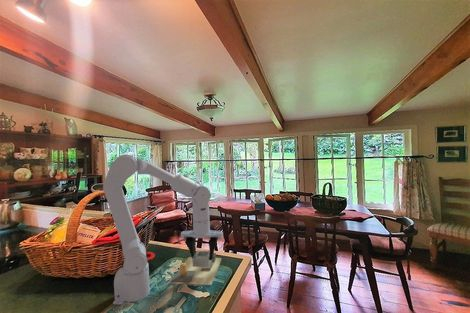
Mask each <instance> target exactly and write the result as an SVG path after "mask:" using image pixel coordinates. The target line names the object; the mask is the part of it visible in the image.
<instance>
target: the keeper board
mask: <svg viewBox="0 0 470 313" xmlns="http://www.w3.org/2000/svg"><path fill="white" fill-rule="evenodd" d="M222 258H223V257H217V252H214V254H213V259H212V262H211V264H210V266H209V267H193V262H192V256H189V257H187V259H186V260H185V262H184V263H185V264H186V265H187V271H196V272H195V274H194V276H193V277H192V279H191V281H190V282H171V281H170V284H173V285H175V284H176V285H177V284H179V285H181V284H182V285H203V286H204V285H205V286H212V285H213V283H214V280H215V277H216V275H217V272H218V269H219V267H220V264H221V262H222Z"/></svg>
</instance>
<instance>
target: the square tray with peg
mask: <svg viewBox="0 0 470 313" xmlns="http://www.w3.org/2000/svg"><path fill="white" fill-rule="evenodd" d="M179 266H180V267H179V269H178V270H177V272H176V273H175V275H174V276H173V277H172V279H171V280H170V283H171V282H190V281H191V279H192V277H193V276H194V274H195V272H196V271H187V265H186V264H185V262H182V263H181V264H179Z"/></svg>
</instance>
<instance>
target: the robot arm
mask: <svg viewBox="0 0 470 313" xmlns="http://www.w3.org/2000/svg"><path fill="white" fill-rule="evenodd" d="M136 172H137V175H150V176H152V177H154V178H156V179H159V180H160V181H163V182H165V183H167V184H169V185H170V188H171V190H172V191H174V192H177V193H178V194H181V195H183V196H185V197H187V198H191V199H192V223H193V224H192V227H193V228H192V230H183V231H181V232H180V239H182V240H183V239H185V241H184V242H185V245H186V247H187V249H188V250H189V252H190V255H191V256H190V257H192V258H193V256H194V255H195V253H196V252H197V249H196V247H197V246H196V245H197V244H196V242H197V239H209V240H208V241H207V243H208V246H209V247H208V249H209V250H208V251H210V260H212V259H213V254H214V253H215V248H216V246H217V242H218V240H223V237H224V231H219V230H212V229H211V221H210V217H211V216H210V200H211V198H212V193H211V191H210V190H209V187H206V186H205V185H202V184H201V183H200V181H197V180H196V181H195V180H193V179H191V178H189V177H188V175H187V174H185V173H184V174H181V173H180V174H176V175H174V174H172V173H171V172H168V170H165V169H163V168H162V167H159V166H157V165H155V164H154V163H152V162H150V161H148V160H145V159H142V158H139V157H134V156H133V155H131V154H121V155H119V156H118V157H116V158H115V159H114V160H113V162H112V163H111V164H110V166H109V168H108V171H107V174H106V177H105V178H104V182H103V185H102V190H103V192H104V195H105V198H106V200H107V205H108V206H109V210H110V213H111V217H112V219H113V222H114V225H115V228H116V231H117V234H118V238H119V240H120V242H121V248H122V249H121V250H122V255H123V259H124V260H123V266H122V267H120V268H119V269H118V270H117V271H116V273H115V275H114V278H113V279H114V280H113V288H114V290H113V291H114V292H113V293H114V301H113V302H112V303H113V304H112V305H119V306H120V305H123V303H124V302H125V301H126V302H129V303H134V302H139V301H141V300H144V299H145V298H146V297H147V296H148V295H149V294H150V292H151V289H150V288H151V287H150V284H151V283H150V269H149V261H147V258H148V257H147V255H146V252H147V247H146V245H145V244H144V243H143V242H142V241H141V240H140V237H139V235H138V232H137V230H136V229H137V228H136V227H135V222H134V221H133V218H132V217H133V216H132V214H131V211H130V209H129V204H128V202H127V199H126V195H125V193H124V190H123V186H124V185H125V184H126V182H127V180H128V179H129V178H131V177H132V176H133V175H134V174H135V173H136Z"/></svg>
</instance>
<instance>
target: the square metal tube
mask: <svg viewBox="0 0 470 313" xmlns="http://www.w3.org/2000/svg"><path fill="white" fill-rule="evenodd" d="M192 262H193V267H209V266H210V264H211V262H212V260H210V250H197V249H196V253H195V255H194V256H193V258H192Z"/></svg>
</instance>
